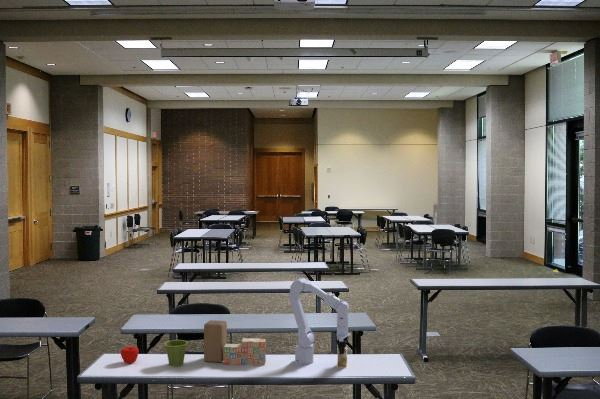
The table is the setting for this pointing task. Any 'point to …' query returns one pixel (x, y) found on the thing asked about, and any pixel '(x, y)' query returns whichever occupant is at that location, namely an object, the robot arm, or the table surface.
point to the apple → (129, 354)
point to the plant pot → (176, 351)
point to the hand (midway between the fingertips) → (342, 351)
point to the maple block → (343, 354)
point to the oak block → (342, 362)
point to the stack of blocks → (246, 352)
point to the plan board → (342, 367)
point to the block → (214, 340)
